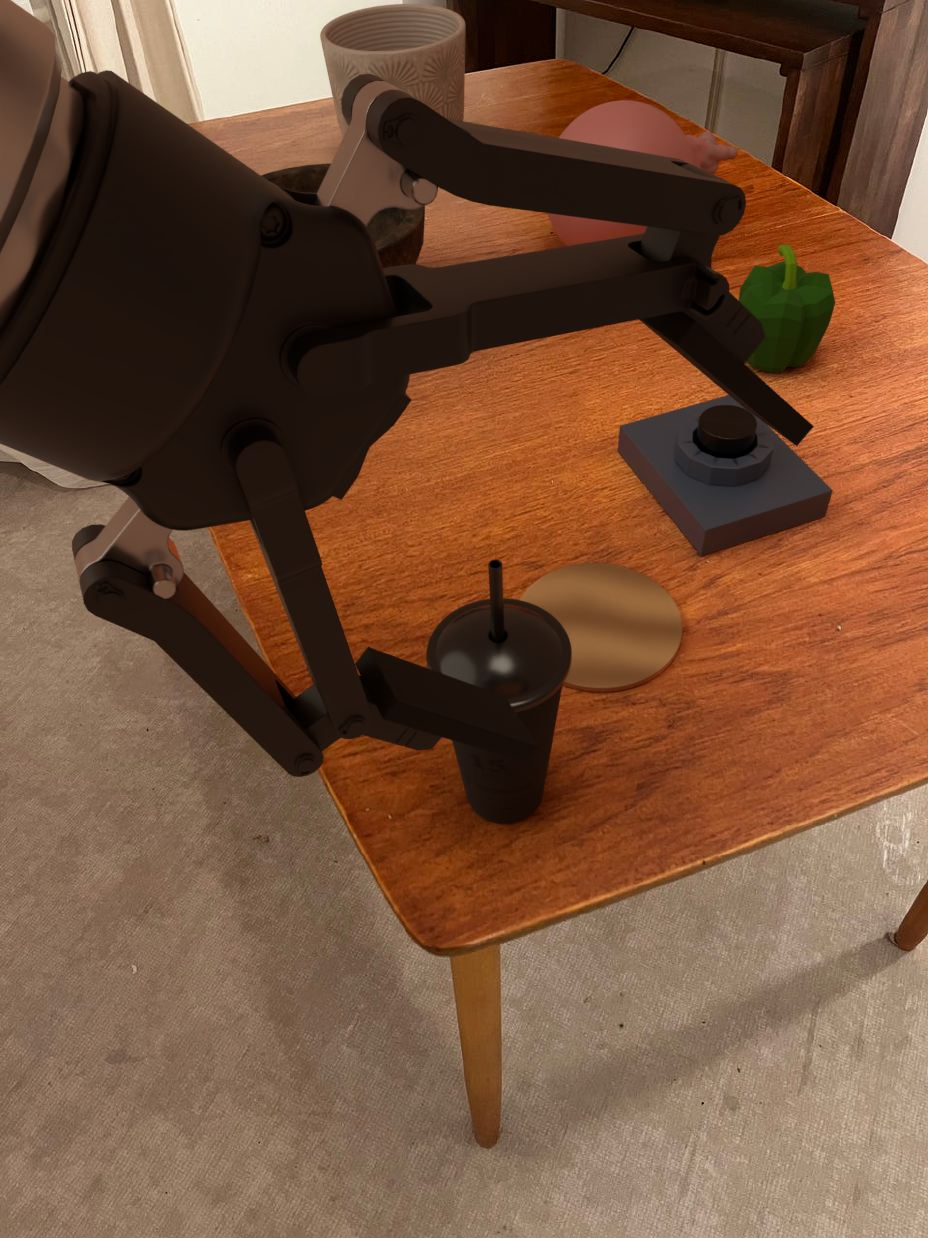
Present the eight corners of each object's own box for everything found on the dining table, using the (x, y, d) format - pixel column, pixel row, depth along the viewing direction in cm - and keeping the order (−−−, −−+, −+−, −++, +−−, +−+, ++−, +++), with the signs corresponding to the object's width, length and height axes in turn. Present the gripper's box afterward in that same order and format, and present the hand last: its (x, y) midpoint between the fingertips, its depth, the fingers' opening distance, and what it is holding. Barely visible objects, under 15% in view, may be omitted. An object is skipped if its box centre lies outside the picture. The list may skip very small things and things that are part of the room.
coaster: (688, 694, 66) (689, 690, 65) (509, 690, 67) (509, 685, 66) (675, 568, 74) (676, 563, 73) (516, 565, 75) (516, 561, 74)
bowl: (397, 237, 111) (387, 147, 104) (462, 333, 97) (456, 236, 90) (207, 279, 107) (183, 188, 100) (246, 385, 93) (222, 288, 85)
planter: (326, 146, 129) (306, 16, 118) (449, 124, 132) (441, -5, 121) (355, 199, 118) (337, 61, 107) (489, 174, 121) (484, 37, 110)
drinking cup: (446, 740, 64) (421, 511, 49) (563, 740, 64) (573, 509, 49) (440, 844, 59) (409, 624, 44) (567, 846, 59) (579, 623, 44)
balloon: (749, 278, 101) (776, 123, 90) (558, 301, 100) (562, 146, 89) (704, 211, 112) (723, 64, 100) (531, 231, 110) (531, 84, 99)
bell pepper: (820, 388, 88) (847, 285, 81) (726, 379, 90) (744, 278, 82) (820, 337, 93) (845, 236, 86) (731, 330, 95) (748, 230, 88)
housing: (825, 516, 77) (838, 471, 73) (701, 556, 74) (708, 511, 71) (730, 418, 86) (738, 374, 82) (617, 451, 83) (620, 407, 80)
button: (764, 451, 76) (768, 429, 75) (714, 466, 75) (717, 444, 74) (733, 420, 79) (737, 398, 77) (685, 434, 78) (688, 412, 77)
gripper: (286, -427, 18) (825, 221, 32) (-231, 606, 25) (388, 768, 39) (444, -519, 13) (1009, 307, 26) (-268, 819, 20) (463, 919, 34)
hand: (639, 582), depth 33 cm, fingers open, 13 cm apart
